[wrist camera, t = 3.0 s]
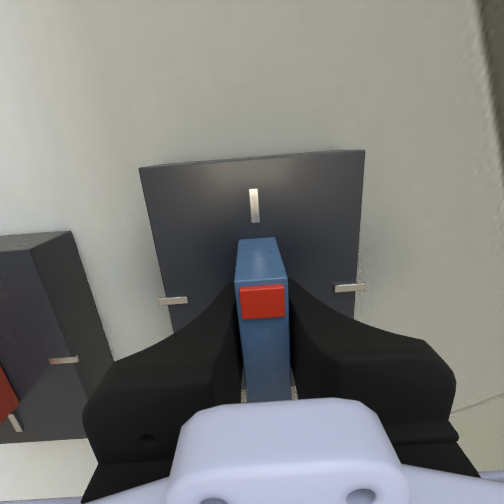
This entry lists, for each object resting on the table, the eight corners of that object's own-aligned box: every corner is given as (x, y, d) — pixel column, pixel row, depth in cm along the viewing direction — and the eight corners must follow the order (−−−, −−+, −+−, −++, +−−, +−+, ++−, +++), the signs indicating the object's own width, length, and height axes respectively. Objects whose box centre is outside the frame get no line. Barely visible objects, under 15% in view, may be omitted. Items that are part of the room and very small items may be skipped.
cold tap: (280, 340, 14) (293, 418, 10) (248, 342, 14) (248, 421, 10) (275, 236, 12) (289, 281, 8) (238, 239, 12) (233, 284, 8)
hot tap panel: (129, 394, 19) (107, 439, 16) (-7, 403, 19) (-54, 450, 16) (77, 229, 14) (33, 250, 12) (-98, 243, 15) (-185, 266, 12)
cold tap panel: (338, 345, 17) (357, 384, 15) (191, 355, 18) (179, 397, 15) (348, 149, 13) (376, 148, 10) (153, 164, 13) (127, 168, 10)
